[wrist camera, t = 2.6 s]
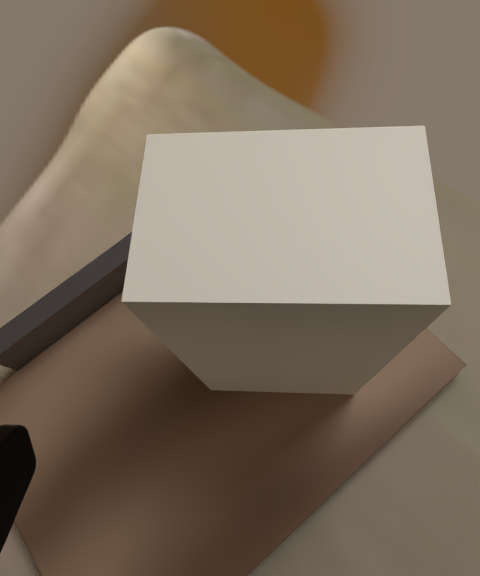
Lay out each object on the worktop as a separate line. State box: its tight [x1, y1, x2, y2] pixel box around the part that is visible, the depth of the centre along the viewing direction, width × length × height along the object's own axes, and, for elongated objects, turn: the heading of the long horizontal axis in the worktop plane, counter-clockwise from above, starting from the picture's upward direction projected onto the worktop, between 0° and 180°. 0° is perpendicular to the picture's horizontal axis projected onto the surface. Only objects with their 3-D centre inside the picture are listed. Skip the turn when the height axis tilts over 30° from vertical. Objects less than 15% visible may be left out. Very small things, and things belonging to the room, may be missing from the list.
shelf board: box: [0, 292, 466, 576], centre depth 19 cm, size 12×18×1 cm
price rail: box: [0, 232, 132, 371], centre depth 20 cm, size 1×14×3 cm, turn 130°
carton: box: [121, 126, 451, 395], centre depth 14 cm, size 4×6×11 cm
